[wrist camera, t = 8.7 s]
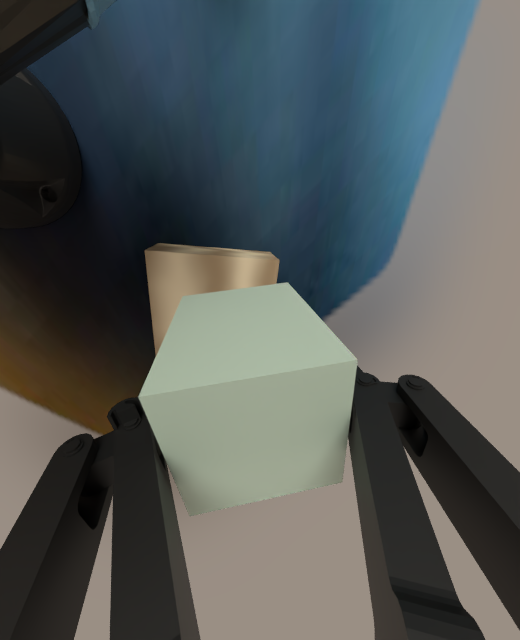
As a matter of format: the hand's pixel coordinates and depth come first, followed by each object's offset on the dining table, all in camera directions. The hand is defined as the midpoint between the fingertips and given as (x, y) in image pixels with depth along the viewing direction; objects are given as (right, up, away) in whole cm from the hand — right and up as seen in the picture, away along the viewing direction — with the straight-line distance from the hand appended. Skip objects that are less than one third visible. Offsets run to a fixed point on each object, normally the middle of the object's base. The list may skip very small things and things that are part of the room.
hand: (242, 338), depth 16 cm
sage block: (0, 0, +1) cm, 1 cm away
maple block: (-5, +4, +16) cm, 18 cm away
